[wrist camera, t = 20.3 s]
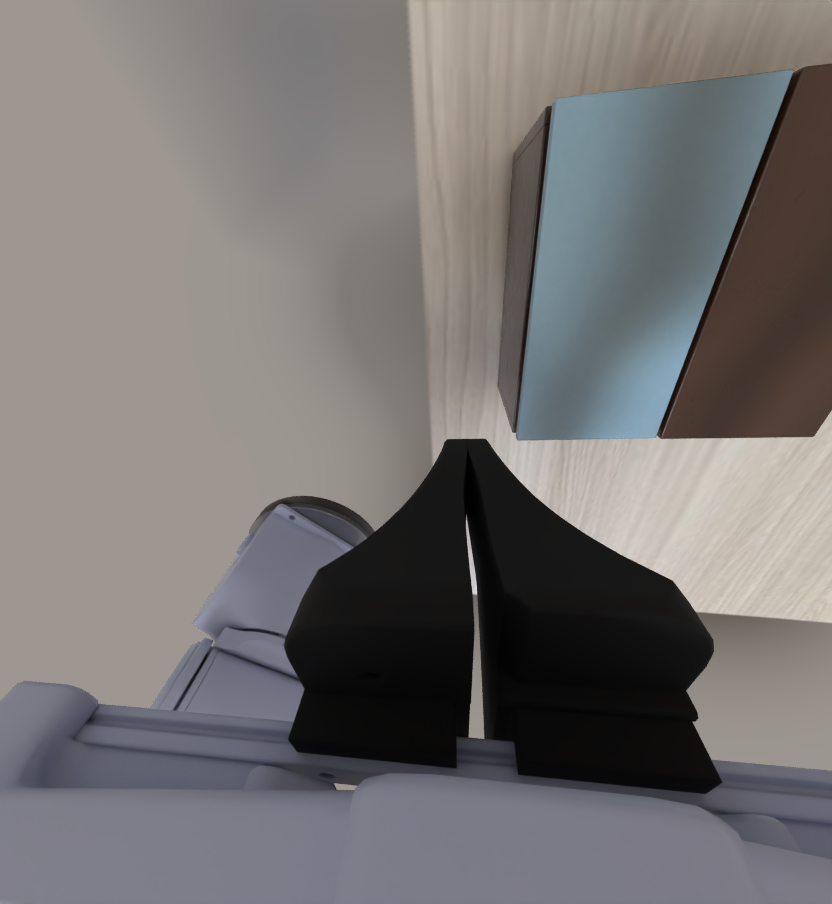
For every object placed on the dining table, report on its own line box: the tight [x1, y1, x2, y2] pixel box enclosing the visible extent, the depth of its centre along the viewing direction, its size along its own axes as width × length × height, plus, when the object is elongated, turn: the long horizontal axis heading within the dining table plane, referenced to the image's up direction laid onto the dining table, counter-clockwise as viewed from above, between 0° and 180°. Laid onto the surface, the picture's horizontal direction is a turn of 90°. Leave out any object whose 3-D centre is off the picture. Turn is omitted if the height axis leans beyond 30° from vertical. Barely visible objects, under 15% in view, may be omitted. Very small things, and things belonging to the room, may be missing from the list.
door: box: [516, 69, 794, 440], centre depth 11 cm, size 6×11×1 cm, turn 4°
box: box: [498, 63, 832, 439], centre depth 14 cm, size 12×11×7 cm
